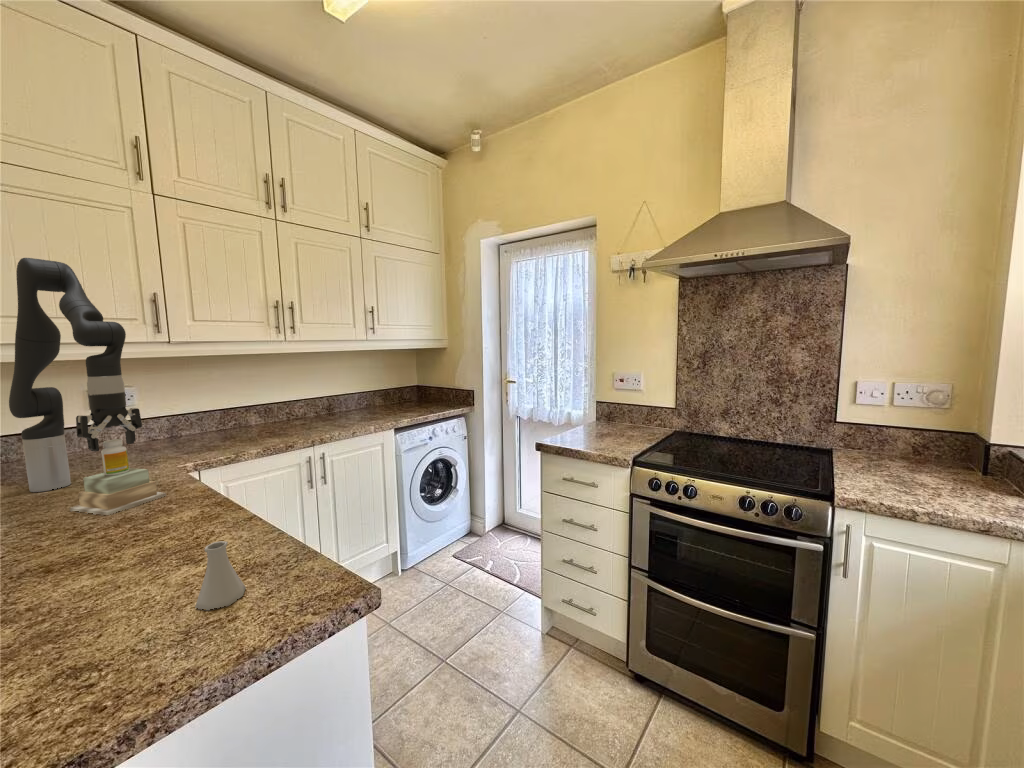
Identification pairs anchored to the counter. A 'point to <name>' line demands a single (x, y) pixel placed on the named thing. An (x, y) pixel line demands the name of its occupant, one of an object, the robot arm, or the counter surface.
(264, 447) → the counter surface
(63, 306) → the robot arm
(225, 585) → the flask
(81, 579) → the counter surface
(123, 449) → the supplement bottle
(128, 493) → the soap dish
